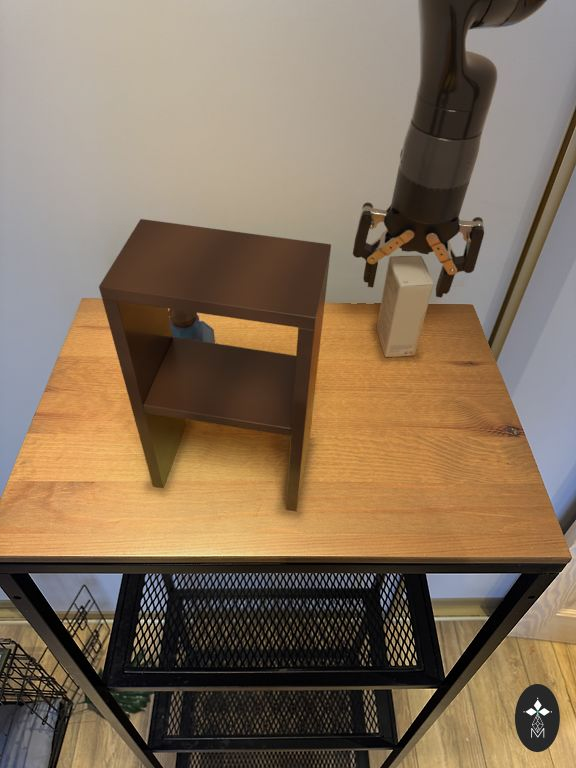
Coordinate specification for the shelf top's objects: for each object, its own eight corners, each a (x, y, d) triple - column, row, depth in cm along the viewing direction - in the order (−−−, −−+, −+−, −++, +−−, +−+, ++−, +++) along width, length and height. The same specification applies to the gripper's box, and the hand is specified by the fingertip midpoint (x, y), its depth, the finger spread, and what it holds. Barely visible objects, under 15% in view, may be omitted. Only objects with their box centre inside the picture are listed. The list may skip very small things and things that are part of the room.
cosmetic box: (415, 356, 77) (436, 286, 68) (383, 358, 77) (399, 287, 68) (404, 324, 81) (423, 254, 72) (374, 326, 81) (388, 255, 72)
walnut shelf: (309, 444, 67) (331, 243, 46) (296, 512, 61) (315, 318, 40) (177, 422, 69) (140, 218, 47) (152, 486, 63) (98, 286, 42)
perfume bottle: (168, 365, 75) (156, 294, 65) (216, 363, 75) (210, 292, 66) (166, 402, 70) (152, 332, 61) (217, 400, 71) (210, 330, 62)
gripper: (365, 176, 58) (345, 299, 70) (508, 194, 57) (462, 316, 69) (370, 141, 63) (351, 262, 75) (502, 157, 61) (460, 277, 74)
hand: (404, 288), depth 72 cm, fingers open, 8 cm apart
